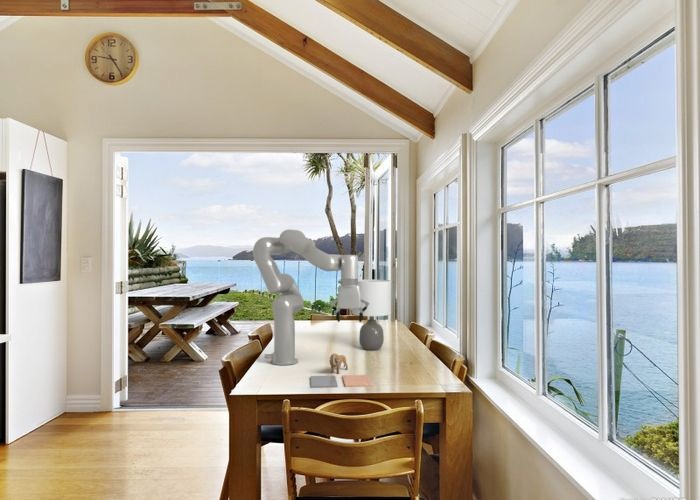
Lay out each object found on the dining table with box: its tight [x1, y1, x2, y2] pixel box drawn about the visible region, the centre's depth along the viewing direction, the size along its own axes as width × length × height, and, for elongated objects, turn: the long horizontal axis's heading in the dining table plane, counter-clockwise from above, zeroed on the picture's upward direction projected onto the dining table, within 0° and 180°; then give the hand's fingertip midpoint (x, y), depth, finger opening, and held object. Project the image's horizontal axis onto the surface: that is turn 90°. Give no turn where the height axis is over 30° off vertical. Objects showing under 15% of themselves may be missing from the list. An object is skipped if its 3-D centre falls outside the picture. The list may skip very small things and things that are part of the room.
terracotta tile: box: [341, 374, 372, 388], centre depth 199 cm, size 10×16×1 cm, turn 5°
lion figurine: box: [329, 352, 349, 375], centre depth 215 cm, size 15×5×9 cm, turn 163°
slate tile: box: [310, 375, 339, 389], centre depth 198 cm, size 10×16×1 cm, turn 5°
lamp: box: [351, 279, 392, 351], centre depth 267 cm, size 21×21×37 cm
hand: (349, 321), depth 220 cm, fingers open, 9 cm apart
